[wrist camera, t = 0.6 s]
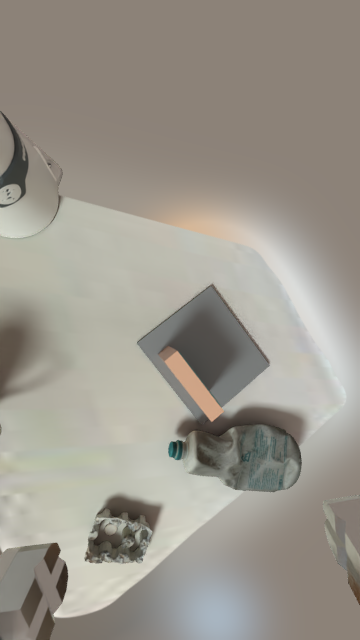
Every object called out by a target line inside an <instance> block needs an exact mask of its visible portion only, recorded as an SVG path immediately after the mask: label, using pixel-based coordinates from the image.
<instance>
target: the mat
mask: <svg viewBox="0 0 360 640" xmlns="http://www.w3.org/2000/svg"><path fill="white" fill-rule="evenodd" d="M137 344H138V345H139V346H140V348H141V349H142V350H143V352H144V353H145V354H146V355H147V357H148V358H149V359H150V360H151V362H152V363H153V364H154V366H155V367H156V368H157V369H158V371H159V372H160V373H161V374H162V376H163V377H164V378H165V380H166V381H167V382H168V383H169V385H170V386H171V387H172V388H173V390H174V391H175V392H176V394H177V395H178V396H179V397H180V399H181V400H182V401H183V402H184V404H185V405H186V406H187V408H188V409H189V410H190V411H191V413H192V414H193V415H194V416H195V418H196V419H197V420H198V422H199V423H200V424H201V425H202V424H204V423H205V422H206V421H207V420H208V419H209V418H208V417H207V416H206V415H205V413H204V412H203V411H202V410H201V409H200V407H199V406H198V405H197V404H196V403H195V401H194V400H193V399H192V398H191V396H190V395H189V394H188V392H187V391H186V390H185V389H184V387H183V386H182V385H181V383H180V382H179V381H178V380H177V378H176V377H175V376H174V374H173V373H172V372H171V371H170V369H169V368H168V367H167V365H166V364H165V363H164V362H163V360H162V359H161V358H160V357H159V355H158V354H159V353H160V352H161V351H162V350H164V349H165V348H166V347H167V346H169V347H171V348H173V349H175V350H177V351H178V352H180V353H181V355H182V356H183V357H184V358H185V360H186V361H187V362H188V364H189V365H190V366H191V368H192V369H193V370H194V371H195V373H196V374H197V375H198V377H199V378H200V379H201V381H202V382H203V383H204V384H205V386H206V387H207V388H208V390H209V391H210V392H211V394H212V395H213V396H214V397H215V399H216V400H217V401H218V403H219V404H220V405H221V408H222V407H223V406H224V405H225V404H226V403H228V402H229V401H230V400H231V399H232V398H233V397H234V396H236V395H237V394H238V393H239V392H240V391H241V390H242V389H244V388H245V387H246V386H247V385H248V384H249V383H250V382H251V381H253V380H254V379H255V378H256V377H257V376H258V375H259V374H261V373H262V372H263V371H264V370H265V369H266V368H267V367H269V366H270V365H269V364H268V362H267V361H266V360H265V358H264V357H263V356H262V354H261V353H260V351H259V350H258V349H257V347H256V346H255V345H254V343H253V342H252V341H251V339H250V338H249V336H248V335H247V334H246V332H245V331H244V330H243V328H242V327H241V326H240V324H239V323H238V321H237V320H236V319H235V317H234V316H233V315H232V313H231V312H230V310H229V309H228V308H227V306H226V305H225V304H224V302H223V301H222V300H221V298H220V297H219V295H218V294H217V293H216V291H215V290H214V289H213V287H212V286H210V287H208V288H207V289H206V290H205V291H203V292H202V293H201V294H199V295H198V296H197V297H196V298H194V299H193V300H192V301H190V302H189V303H188V304H186V305H185V306H184V307H183V308H181V309H180V310H179V311H177V312H176V313H175V314H174V315H172V316H171V317H170V318H168V319H167V320H166V321H165V322H163V323H162V324H161V325H159V326H158V327H157V328H156V329H154V330H153V331H152V332H150V333H149V334H148V335H146V336H145V337H144V338H143V339H141V340H140V341H139V342H137Z"/></svg>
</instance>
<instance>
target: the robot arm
mask: <svg viewBox="0 0 360 640" xmlns="http://www.w3.org/2000/svg"><path fill="white" fill-rule="evenodd" d="M48 165H51V167H49V166H48ZM61 178H62V169H61V168H60V166H59V165H58V164H57V163H56V162H55V161H54V160H52V159H51V158H50V157H49V156H48V155H47V154H46V153H45V152H44V151H43V150H42V149H40V148H39V147H38V146H37V145H36V144H35V143H34V142H33V141H32V140H31V139H29V137H27V136H26V135H25V134H24V133H23V132H22V131H21V130H20V129H19V128H18V127H17V126H15V125H14V124H13V123H12V122H11V121H10V120H9V119H8V118H7V117H6V116H5V115H4V114H3V113H2V112H1V111H0V235H1V236H4V237H10V238H22V237H28V236H31V235H34V234H36V233H38V232H40V231H42V230H43V229H44V228H46V227H47V226H48V225H49V224H50V222H51V221H52V220H53V218H54V216H55V214H56V212H57V208H58V202H59V196H58V186H59V183H60V181H61ZM323 511H324V513H325V515H326V517H327V520H326V521H325V523H324V524H325V532H326V536H327V539H328V542H329V545H330V548H331V550H332V552H333V554H334V556H335V558H336V560H337V562H338V564H339V565H340V566H342V567H343V568H344V569H345V570H347V574H348V584H349V585H350V588H351V590H352V592H353V593H354V595H355V597H356V599H357V601H358V603H359V605H360V495H358V496H357V495H355V496H348V497H343V498H337V499H331V500H325V501H324V502H323ZM60 551H61V550H60V548H59V546H58V543H49V544H40V545H32V546H24V547H17V548H9V549H7V550H5V551H4V552H3V553H2V554H1V556H0V640H50V637H51V634H52V631H53V628H54V625H55V621H54V615H53V614H54V613H55V611H56V610H57V609H58V608H59V606H60V605H61V604H62V602H63V599H64V596H65V593H66V589H67V582H68V569H67V565H66V563H65V561H63V560H62V559H61V558H59V557H58V556H59V554H60Z"/></svg>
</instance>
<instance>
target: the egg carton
mask: <svg viewBox="0 0 360 640" xmlns="http://www.w3.org/2000/svg"><path fill="white" fill-rule="evenodd" d="M104 519H108V520H109V522H110V523H109V524H108V525H106V527H105V533H106V534H107V535H110V536H111V535H113V534H115V533H116V531H117V527H118V526H119V525H120V524H121V522H122V521H123V522H124V523H126V522H128V523H126V524H127V525H128V526H127V527H125V528H124V529H123V532H122V544H121V545H120V546H119V547H118V548H112V545H111V543H110V542H108V541H104V542H102V543H101V544H100V546H96V545H94V542H93V540H95V539H96V537H97V536H98V532H99V524H100V523H101V521H103V520H104ZM140 527H142V529H143V530H142V531H141V533H140V547H138V548H137V549H136V550H135V551H133V552H132V551H129V547H131V546H132V545H133V544H134V542H135V530H139V528H140ZM151 535H152V530H150V527H149V523H147V522H146V520H145V516H143V515H140V516H139V518H138V519H136V520H130V519H129V517H128V513H127V512H122V514H121V515H120V516H118V517H113V516H112V515H111V514H110V509H105V510H104V511H103V512H102V513H100V514H97V515H96V518H95V522H94V526H93V529H92V532H90V534H89V537H88V541H89V543H88V548H87V551H86V555H85V561H86V562H87V561H89V562H90V563H102V562H103V561H105V562H108V563H111V562H118V563H121V564H123V563H129V562H131V563H132V562H135V561H136V562H137V563H142V561H143V557H144V555H145V553H146V549H147V547H148V544H149V542H150V537H151Z"/></svg>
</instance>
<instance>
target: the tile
mask: <svg viewBox="0 0 360 640" xmlns="http://www.w3.org/2000/svg"><path fill="white" fill-rule="evenodd" d="M158 355H159V357H160V358H161V359H162V360H163V362H164V363H165V364H166V365H167V367H168V368H169V369H170V371H171V372H172V373H173V374H174V376H175V377H176V378H177V380H178V381H179V382H180V383H181V385H182V386H183V387H184V389H185V390H186V391H187V392H188V394H189V395H190V396H191V398H192V399H193V400H194V401H195V403H196V404H197V405H198V406H199V407H200V409H201V410H202V411H203V412H204V413H205V415H206V416H207V417H208V418H209V419H210V421H211V422H212V421H214V420H215V419H216V418H217V417H218V416H219V415H220V414H222V413H223V412H224V411H223V409H222V408H221V405H220V404H219V403H218V401H217V400H216V399H215V397H214V396H213V395H212V394H211V392H210V391H209V390H208V388H207V387H206V386H205V384H204V383H203V382H202V381H201V379H200V378H199V377H198V375H197V374H196V373H195V371H194V370H193V369H192V368H191V366H190V365H189V364H188V362H187V361H186V360H185V358H184V357H183V356H182V355H181V353H180V352H178V351H177V350H175V349H173V348H171V347H169V346H167V347H166V348H165V349H164V350H162V351H161V352H160V353H159V354H158Z"/></svg>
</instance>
